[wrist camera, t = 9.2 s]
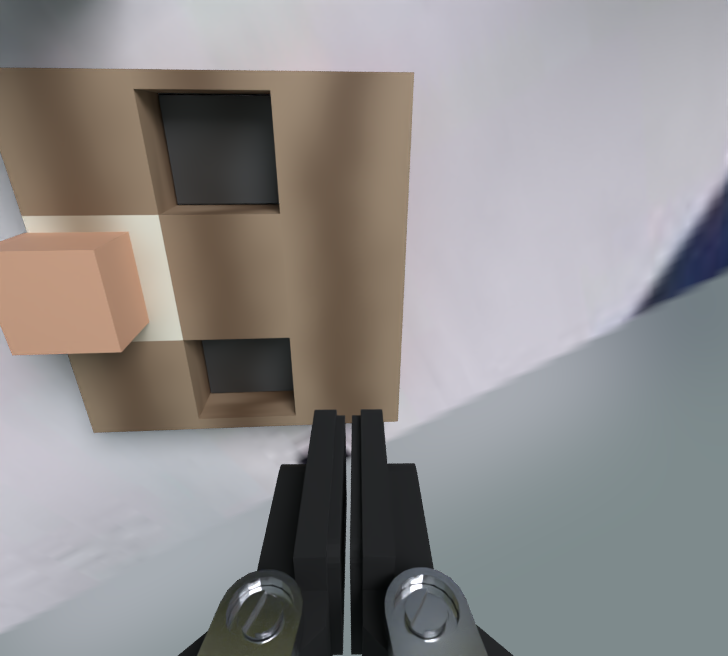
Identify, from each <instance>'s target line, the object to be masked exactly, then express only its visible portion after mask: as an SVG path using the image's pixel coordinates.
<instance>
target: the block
mask: <svg viewBox="0 0 728 656" xmlns="http://www.w3.org/2000/svg"><path fill="white" fill-rule="evenodd" d="M148 323H149V318H148V314H147V309H146V305H145V301H144V296H143V292H142V288H141V283H140V279H139V275H138V270H137V266H136V262H135V257H134V253H133V249H132V244H131V240H130V236H129V232H54V233H23V234H20V235H17V236H14V237H12V238H9V239H6V240H3V241H0V325H1V328H2V330H3V333H4V335H5V338H6V340H7V343H8V346H9V348H10V351H11V353H12V355H40V354H77V353H114V352H122V351H123V350H124V349H125V348H126V347H127V346H128V345H129V344H130V342H131V341H132V340H133V339H134V338H135V337H136V336H137V335H138V334H139V333H140V332H141V331H142V329H143V328H144V327H145V326H146V325H147V324H148Z"/></svg>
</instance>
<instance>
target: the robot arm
mask: <svg viewBox="0 0 728 656" xmlns="http://www.w3.org/2000/svg"><path fill="white" fill-rule="evenodd" d="M346 495H347V492H346V433H345V415H337V410H336V409H329V410H314V416H313V423H312V430H311V437H310V444H309V451H308V458H307V464H282V465H281V467H280V470H279V474H278V478H277V483H276V487H275V492H274V496H273V501H272V505H271V510H270V514H269V519H268V524H267V528H266V533H265V538H264V542H263V546H262V551H261V555H260V560H259V564H258V569H257V571H255V572H252V573H249V574H247V575H245V576H244V577H242V578H241V579H239V580H237V581H236V582H235V583H234V584H233V585H232V586H231V587H230V588H229V589H228V590H227V592H226V594H225V595H224V597H223V599H222V601H221V602H220V604H219V607H218V609H217V611H216V613H215V616H214V618H213V620H212V623H211V625H210V628H209V629H208V631H207V632H206V633H205V634H204V635H202V636H201V637H200V638H199V639H198V640H196V641H195V642H194V643H193V644H192V645H190V646H189V647H188V648H187V649H185V650H184V651H183V652H182V653H180V654H179V655H178V656H333V655H342V654H343V627H344V626H343V625H344V588H345V548H346V547H345V546H346V507H347V501H346V500H347V497H346ZM350 585H351V586H350V590H351V591H350V592H351V593H350V594H351V654H362V656H513V655H512V654H511V653H510V652H508V651H507V650H506V649H505V648H504V647H502V646H501V645H500V644H499V643H497V642H496V641H495V640H494V639H493V638H491V637H490V636H489V635H488V634H487V633H486V632H484V631H483V630H482V629H481V628H480V627H478V626H477V625H476V624H475V621H474V619H473V616H472V613H471V611H470V608H469V605H468V603H467V600H466V598H465V597H464V594H463V592H462V591H461V589H460V587H459V586H458V585H457V584H456V583H455V582H454V581H453V580H452V579H451V578H450V577H448V576H447V575H445V574H443V573H442V572H440V571H438V570H434V568H433V562H432V557H431V551H430V545H429V539H428V533H427V528H426V523H425V516H424V510H423V505H422V499H421V493H420V487H419V481H418V475H417V470H416V466H415V464H414V463H412V464H411V463H410V464H409V463H405V464H404V463H403V464H387V456H386V445H385V433H384V422H383V412H382V409H361V415H352V450H351V521H350Z"/></svg>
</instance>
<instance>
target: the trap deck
mask: <svg viewBox="0 0 728 656" xmlns="http://www.w3.org/2000/svg"><path fill="white" fill-rule="evenodd" d="M413 84H414V72H331V71H246V70H161V69H77V68H0V152H1V155H2V158H3V161H4V164H5V167H6V170H7V173H8V176H9V179H10V182H11V185H12V188H13V191H14V194H15V197H16V200H17V203H18V206H19V209H20V212H21V215H22V218H23V221H24V224H25V227H26V230H27V233H54V232H129V236H130V240H131V244H132V249H133V253H134V257H135V262H136V266H137V270H138V275H139V279H140V283H141V288H142V292H143V296H144V301H145V305H146V309H147V314H148V318H149V323H148V324H147V325H146V326H145V327H144V328H143V329H142V331H141V332H140V333H139V334H138V335H137V336H136V337H135V338H134V339H133V340H132V341H131V342H130V344H129V345H128V346H127V347H126V348H125V349H124V350H123V351H122V352H114V353H77V354H68V357H69V360H70V363H71V366H72V369H73V372H74V375H75V378H76V381H77V384H78V387H79V390H80V393H81V396H82V399H83V402H84V405H85V408H86V411H87V414H88V417H89V420H90V423H91V426H92V429H93V432H94V433H100V432H126V431H153V430H180V429H207V428H234V427H260V426H287V425H312V423H313V416H314V410H329V409H336V410H337V415H345V423H352V415H361V409H382V412H383V422H394V421H398V405H399V384H400V363H401V341H402V320H403V298H404V277H405V255H406V234H407V212H408V191H409V170H410V148H411V127H412V105H413ZM158 93H202V94H271V96H215V95H158ZM225 203H279V204H225ZM178 204H216V205H178Z"/></svg>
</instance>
